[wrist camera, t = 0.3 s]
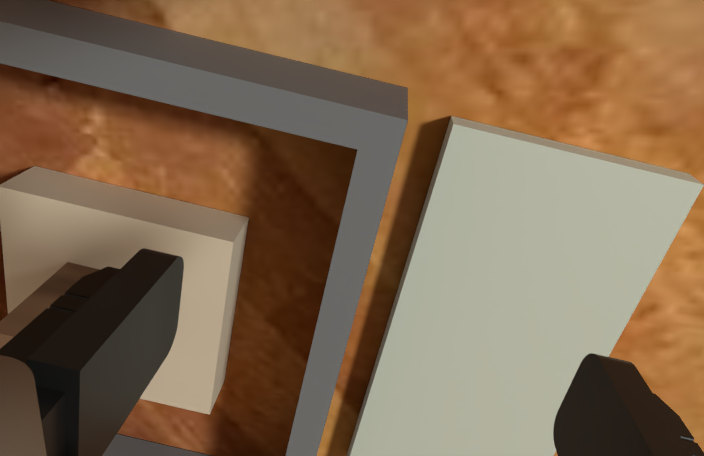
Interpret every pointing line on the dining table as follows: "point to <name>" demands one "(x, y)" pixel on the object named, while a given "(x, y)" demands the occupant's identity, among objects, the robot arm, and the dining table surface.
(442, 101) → the dining table surface
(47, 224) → the access box
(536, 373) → the board
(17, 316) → the walnut block
